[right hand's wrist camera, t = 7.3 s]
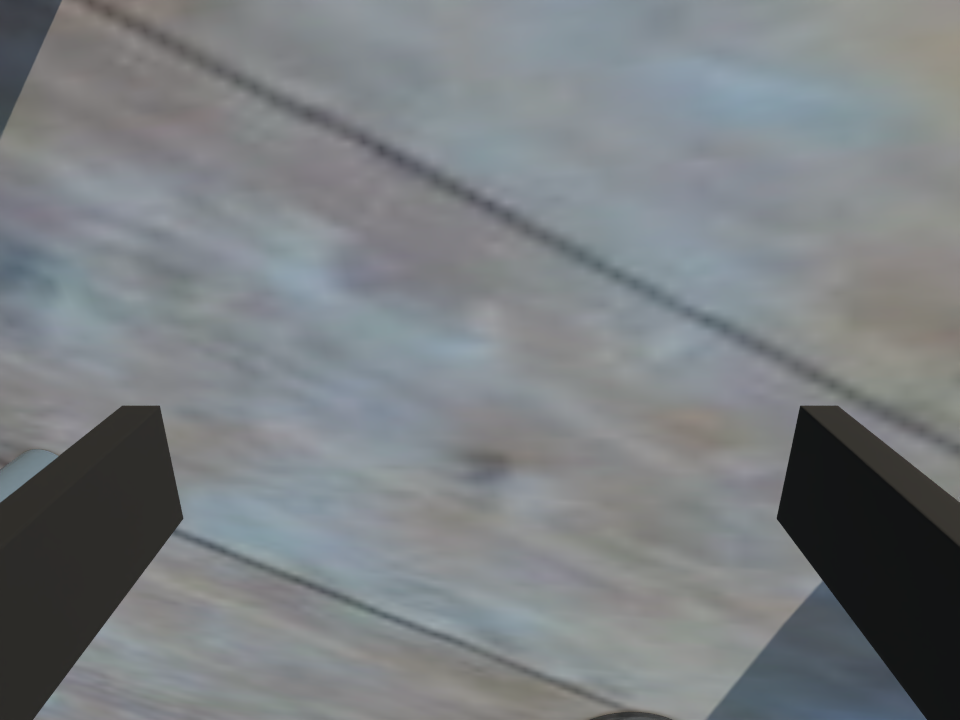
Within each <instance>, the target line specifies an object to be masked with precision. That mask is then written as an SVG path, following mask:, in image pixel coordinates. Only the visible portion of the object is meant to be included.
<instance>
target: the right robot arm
mask: <svg viewBox="0 0 960 720" xmlns="http://www.w3.org/2000/svg"><path fill="white" fill-rule="evenodd" d="M182 520H183V515H182V510H181V505H180V501H179V496H178V491H177V486H176V481H175V477H174V472H173V467H172V462H171V457H170V453H169V448H168V443H167V438H166V433H165V429H164V424H163V419H162V414H161V410H160V406H121V407H120V408H119V409H118V410H116V411H115V412H114V413H113V414H111V415H110V416H109V417H108V418H106V419H105V420H104V421H103V422H101V423H100V424H99V425H97V426H96V427H95V428H94V429H92V430H91V431H90V432H89V433H87V434H86V435H85V436H84V437H82V438H81V439H80V440H79V441H77V442H76V443H75V444H74V445H72V446H71V447H70V448H69V449H67V450H66V451H65V452H63V453H62V454H61V455H60V456H58V457H57V458H56V459H55V460H53V461H52V462H51V463H50V464H48V465H47V466H46V467H45V468H43V469H42V470H41V471H40V472H38V473H37V474H36V475H34V476H33V477H32V478H31V479H29V480H28V481H27V482H26V483H24V484H23V485H22V486H21V487H19V488H18V489H17V490H16V491H14V492H13V493H12V494H11V495H9V496H8V497H7V498H6V499H4V500H3V501H2V502H0V720H33V719H34V718H35V716H36V715H37V714H38V712H39V711H40V710H41V708H42V707H43V706H44V704H45V703H46V701H47V700H48V699H49V697H50V696H51V695H52V693H53V692H54V691H55V689H56V688H57V687H58V685H59V684H60V683H61V681H62V680H63V679H64V677H65V676H66V675H67V673H68V672H69V671H70V669H71V668H72V667H73V665H74V664H75V663H76V661H77V660H78V659H79V657H80V656H81V655H82V653H83V652H84V651H85V649H86V648H87V647H88V645H89V644H90V643H91V641H92V640H93V639H94V637H95V636H96V635H97V633H98V632H99V631H100V629H101V628H102V627H103V625H104V624H105V623H106V621H107V620H108V619H109V617H110V616H111V615H112V613H113V612H114V611H115V609H116V608H117V607H118V605H119V604H120V603H121V601H122V600H123V599H124V597H125V596H126V595H127V593H128V592H129V591H130V589H131V588H132V587H133V585H134V584H135V582H136V581H137V580H138V578H139V577H140V576H141V574H142V573H143V572H144V570H145V569H146V568H147V566H148V565H149V564H150V562H151V561H152V560H153V558H154V557H155V556H156V554H157V553H158V552H159V550H160V549H161V548H162V546H163V545H164V544H165V542H166V541H167V540H168V538H169V537H170V536H171V534H172V533H173V532H174V530H175V529H176V528H177V526H178V525H179V524H180V522H181V521H182ZM777 520H778V521H779V522H780V524H781V525H782V526H783V528H784V529H785V530H786V532H787V533H788V534H789V536H790V537H791V538H792V540H793V541H794V542H795V544H796V545H797V546H798V548H799V549H800V550H801V552H802V553H803V554H804V556H805V557H806V558H807V560H808V561H809V562H810V564H811V565H812V566H813V568H814V569H815V570H816V572H817V573H818V574H819V576H820V577H821V578H822V580H823V581H824V582H825V584H826V585H827V587H828V588H829V589H830V591H831V592H832V593H833V595H834V596H835V597H836V599H837V600H838V601H839V603H840V604H841V605H842V607H843V608H844V609H845V611H846V612H847V613H848V615H849V616H850V617H851V619H852V620H853V621H854V623H855V624H856V625H857V627H858V628H859V629H860V631H861V632H862V633H863V635H864V636H865V637H866V639H867V640H868V641H869V643H870V644H871V645H872V647H873V648H874V649H875V651H876V652H877V653H878V655H879V656H880V657H881V659H882V660H883V661H884V663H885V664H886V665H887V667H888V668H889V669H890V671H891V672H892V673H893V675H894V676H895V677H896V679H897V680H898V681H899V683H900V684H901V685H902V687H903V688H904V689H905V691H906V692H907V693H908V695H909V696H910V697H911V699H912V700H913V701H914V703H915V704H916V706H917V707H918V708H919V710H920V711H921V712H922V714H923V715H924V716H925V718H926V719H927V720H960V502H958V501H957V500H956V499H954V498H953V497H952V496H951V495H949V494H948V493H947V492H946V491H944V490H943V489H942V488H941V487H939V486H938V485H937V484H936V483H934V482H933V481H932V480H931V479H929V478H928V477H927V476H926V475H924V474H923V473H922V472H920V471H919V470H918V469H917V468H915V467H914V466H913V465H912V464H910V463H909V462H908V461H907V460H905V459H904V458H903V457H902V456H900V455H899V454H898V453H897V452H895V451H894V450H893V449H891V448H890V447H889V446H888V445H886V444H885V443H884V442H883V441H881V440H880V439H879V438H878V437H876V436H875V435H874V434H873V433H871V432H870V431H869V430H868V429H866V428H865V427H864V426H863V425H861V424H860V423H859V422H857V421H856V420H855V419H854V418H852V417H851V416H850V415H849V414H847V413H846V412H845V411H844V410H842V409H841V408H840V407H839V406H800V410H799V414H798V419H797V424H796V429H795V433H794V438H793V443H792V448H791V453H790V457H789V462H788V467H787V472H786V477H785V481H784V486H783V491H782V496H781V501H780V505H779V510H778V515H777ZM590 720H672V719H669V718H666V717H663V716H660V715H655V714H650V713H642V712H623V713H614V714H608V715H604V716H600V717H596V718H593V719H590Z"/></svg>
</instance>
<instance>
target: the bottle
mask: <svg viewBox="0 0 960 720" xmlns="http://www.w3.org/2000/svg"><path fill="white" fill-rule="evenodd" d="M57 457H58V455H56V454H54V453H52V452H49V451H46V450H40V449H34V450H29V451H26V452H24V453H22V454H21V455H20V456H18V457H17V458H15V459H14V460H13V461H11V462H10V463H8V464H7V465H6V466H4V467H3V468H2V469H0V502H2V501H3V500H4V499H6V498H7V497H8V496H9V495H11V494H12V493H13V492H14V491H16V490H17V489H18V488H19V487H21V486H22V485H23V484H24V483H26V482H27V481H28V480H29V479H31V478H32V477H33V476H34V475H36V474H37V473H38V472H40V471H41V470H42V469H43V468H45V467H46V466H47V465H48V464H50V463H51V462H52V461H53V460H55V459H56V458H57Z"/></svg>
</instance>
